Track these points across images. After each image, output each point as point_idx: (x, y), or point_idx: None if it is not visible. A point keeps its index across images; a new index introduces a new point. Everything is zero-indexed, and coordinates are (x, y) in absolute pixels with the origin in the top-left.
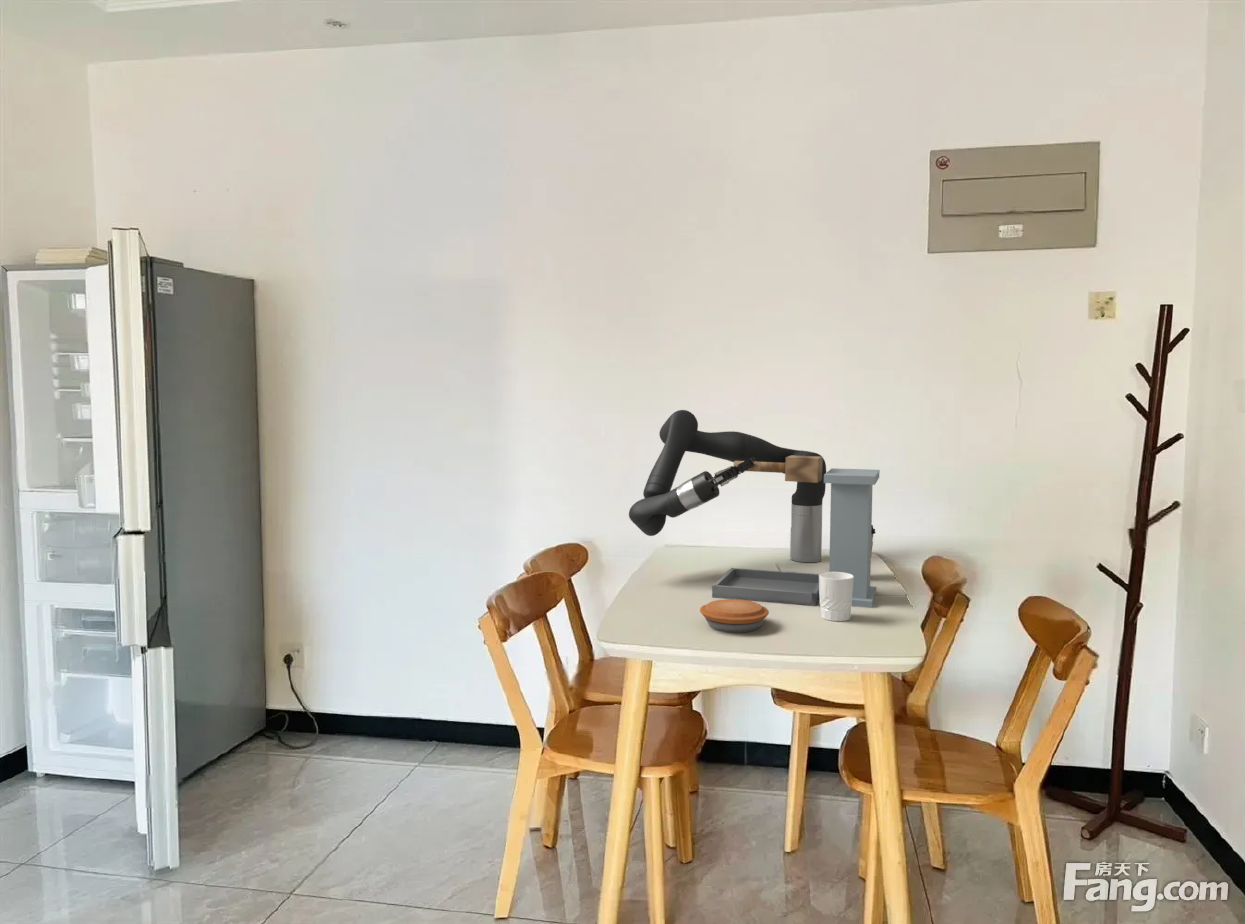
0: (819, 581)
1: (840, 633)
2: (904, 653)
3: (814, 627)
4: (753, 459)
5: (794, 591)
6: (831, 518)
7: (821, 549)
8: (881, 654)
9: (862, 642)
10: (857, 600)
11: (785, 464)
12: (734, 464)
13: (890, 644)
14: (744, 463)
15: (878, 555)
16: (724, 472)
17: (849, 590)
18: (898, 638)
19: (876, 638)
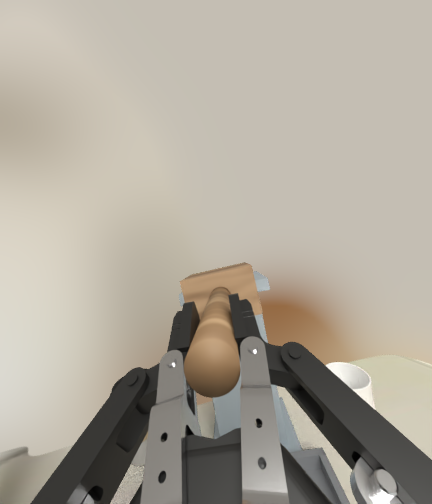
0: (368, 394)
1: (408, 404)
2: (395, 358)
3: (426, 436)
4: (195, 307)
5: (336, 489)
6: (266, 337)
7: None
8: (420, 366)
9: (409, 383)
10: (286, 409)
11: (254, 279)
12: (236, 351)
13: (385, 368)
14: (253, 315)
15: (17, 455)
16: (362, 403)
17: (347, 375)
18: (362, 367)
19: (382, 378)
